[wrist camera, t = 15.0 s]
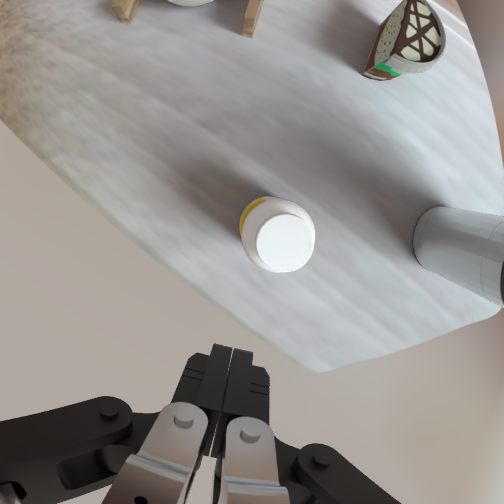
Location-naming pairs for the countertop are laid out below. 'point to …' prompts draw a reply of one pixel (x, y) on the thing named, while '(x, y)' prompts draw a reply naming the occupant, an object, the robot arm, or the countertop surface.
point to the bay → (129, 3)
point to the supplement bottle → (276, 234)
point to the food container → (406, 42)
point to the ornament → (190, 2)
